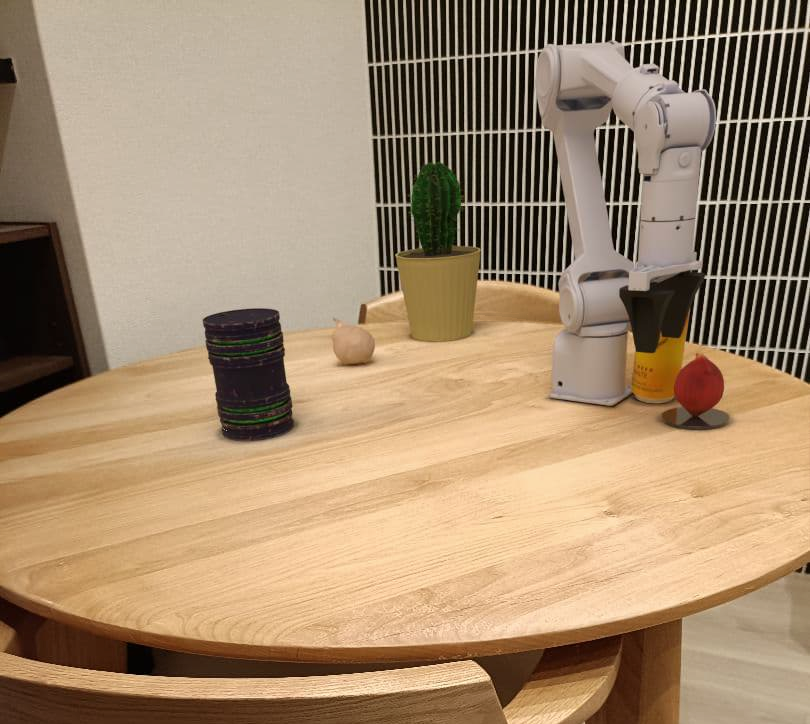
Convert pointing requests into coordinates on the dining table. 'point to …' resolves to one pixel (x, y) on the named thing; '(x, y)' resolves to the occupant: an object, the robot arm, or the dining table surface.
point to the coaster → (695, 419)
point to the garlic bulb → (352, 343)
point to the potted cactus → (438, 261)
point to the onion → (699, 385)
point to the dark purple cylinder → (249, 373)
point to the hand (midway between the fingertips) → (658, 344)
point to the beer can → (659, 369)
